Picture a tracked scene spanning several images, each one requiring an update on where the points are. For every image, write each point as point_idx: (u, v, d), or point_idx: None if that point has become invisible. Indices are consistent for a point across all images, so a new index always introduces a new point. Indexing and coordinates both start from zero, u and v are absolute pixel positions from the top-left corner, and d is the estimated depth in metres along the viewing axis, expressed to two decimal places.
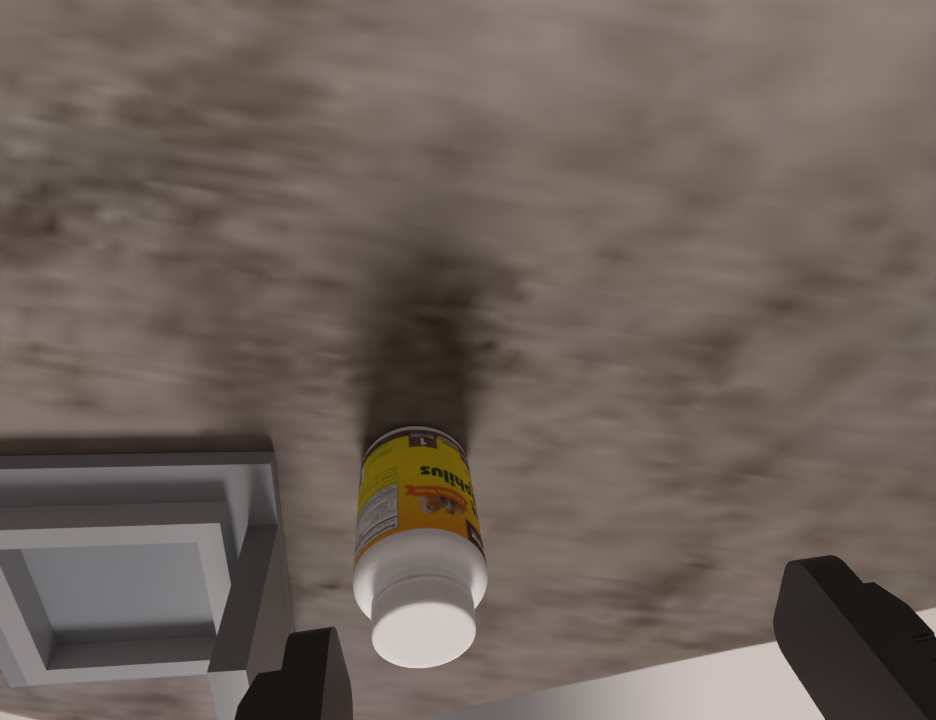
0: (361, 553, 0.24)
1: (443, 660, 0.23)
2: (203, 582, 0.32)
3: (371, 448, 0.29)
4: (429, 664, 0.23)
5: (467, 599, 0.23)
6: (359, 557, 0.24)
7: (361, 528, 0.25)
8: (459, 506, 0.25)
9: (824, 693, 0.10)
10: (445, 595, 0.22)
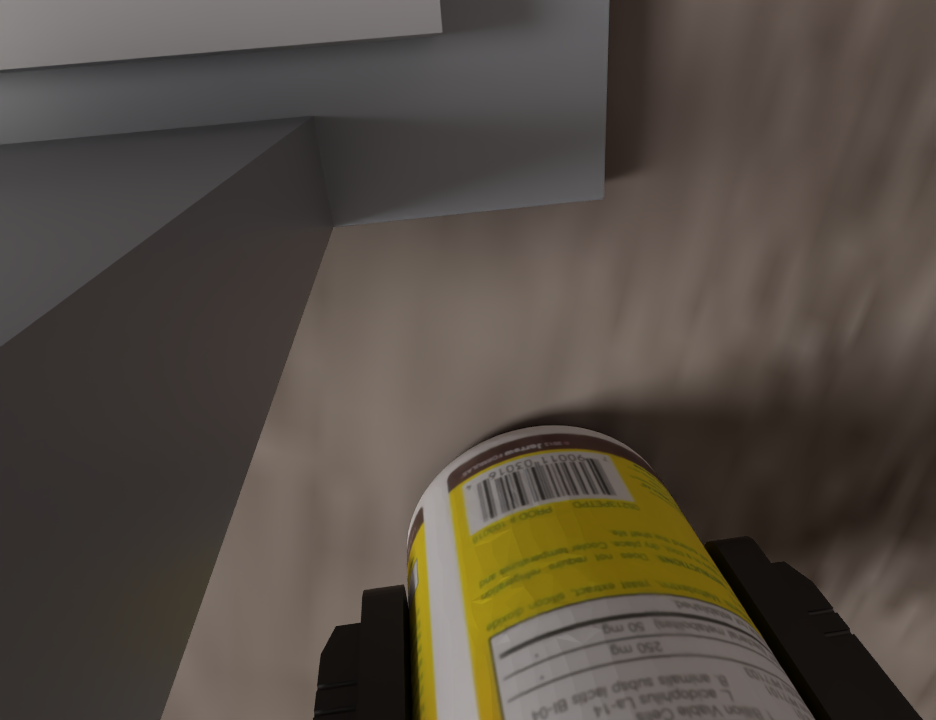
0: None
1: None
2: None
3: (626, 450, 0.11)
4: None
5: None
6: None
7: (744, 688, 0.07)
8: None
9: None
10: None
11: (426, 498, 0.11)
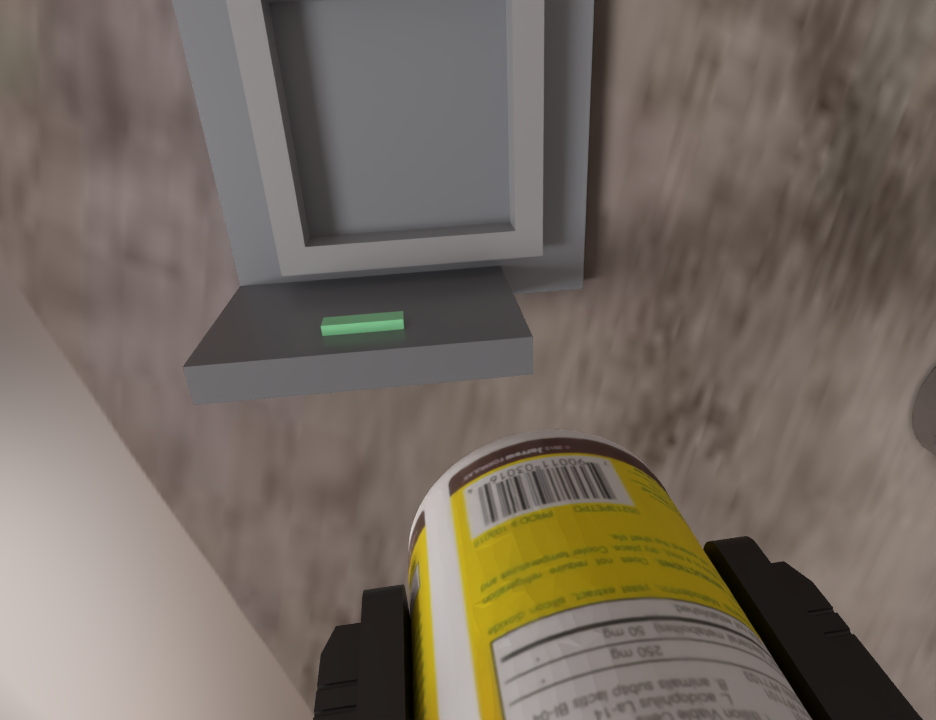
0: None
1: None
2: (409, 213, 0.27)
3: (626, 454, 0.11)
4: None
5: None
6: None
7: (743, 692, 0.07)
8: None
9: None
10: None
11: (427, 502, 0.11)
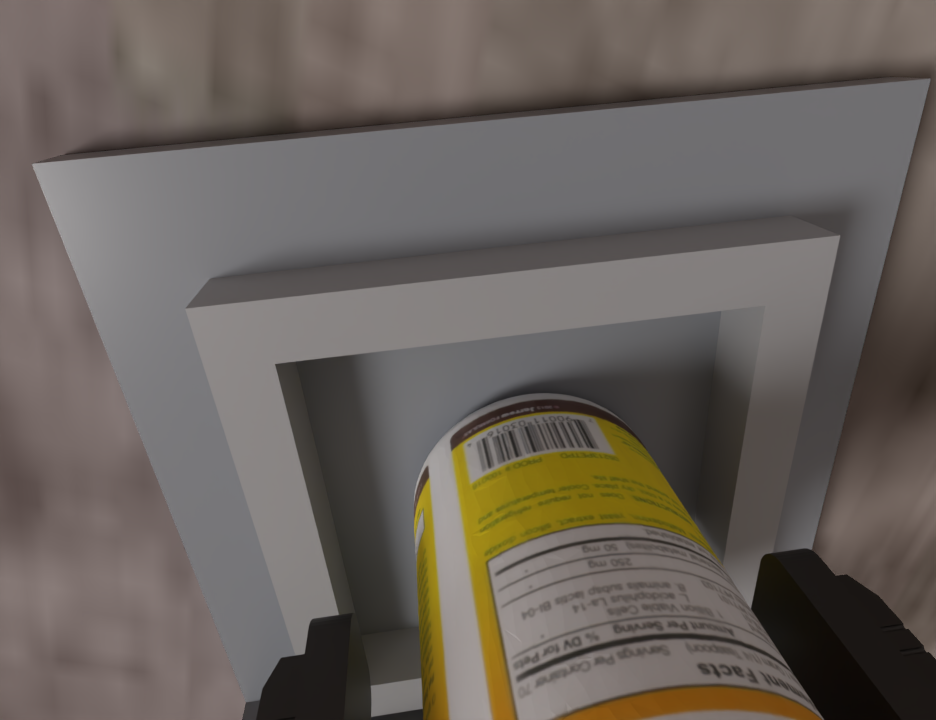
0: (768, 699, 0.07)
1: None
2: None
3: (610, 414, 0.13)
4: None
5: None
6: (763, 706, 0.07)
7: (699, 594, 0.08)
8: None
9: None
10: None
11: (431, 458, 0.13)
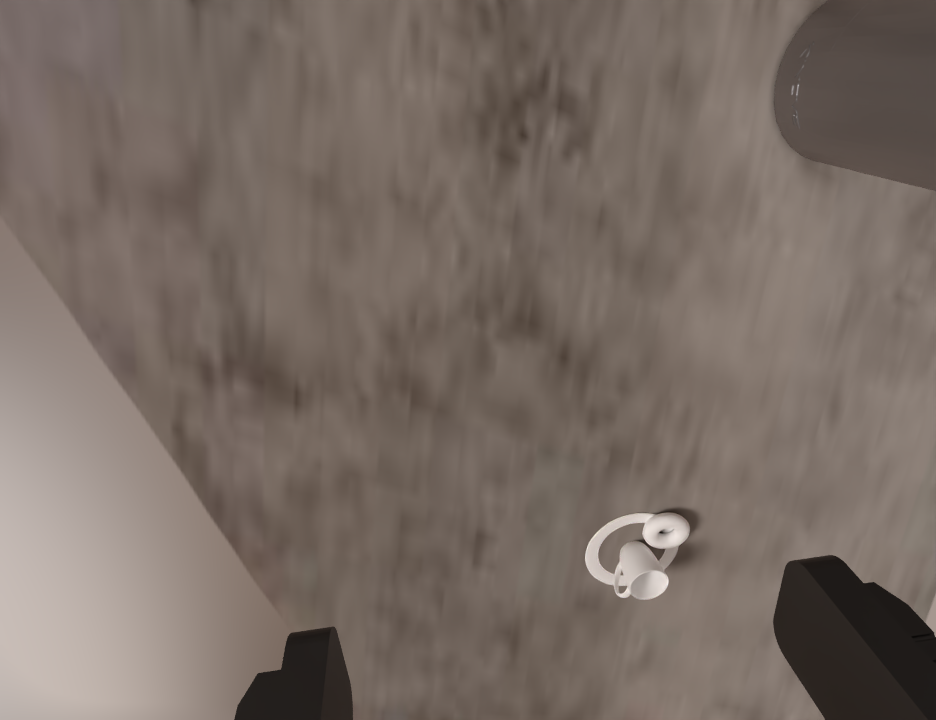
0: None
1: None
2: None
3: None
4: None
5: None
6: None
7: None
8: None
9: (824, 693, 0.10)
10: None
11: None
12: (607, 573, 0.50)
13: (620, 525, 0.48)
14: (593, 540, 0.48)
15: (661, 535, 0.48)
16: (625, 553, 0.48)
